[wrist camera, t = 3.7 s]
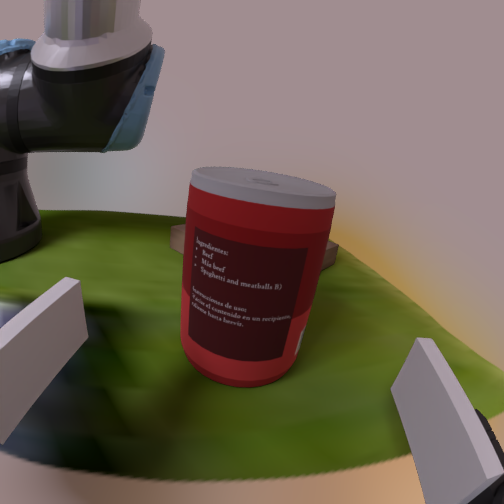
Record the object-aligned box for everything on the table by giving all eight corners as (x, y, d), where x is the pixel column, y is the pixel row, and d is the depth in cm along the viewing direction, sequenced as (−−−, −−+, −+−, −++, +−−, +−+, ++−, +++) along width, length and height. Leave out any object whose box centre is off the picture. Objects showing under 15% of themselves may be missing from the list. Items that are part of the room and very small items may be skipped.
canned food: (260, 310, 24) (283, 172, 21) (319, 372, 18) (370, 200, 14) (166, 322, 21) (174, 163, 17) (205, 404, 14) (226, 188, 11)
